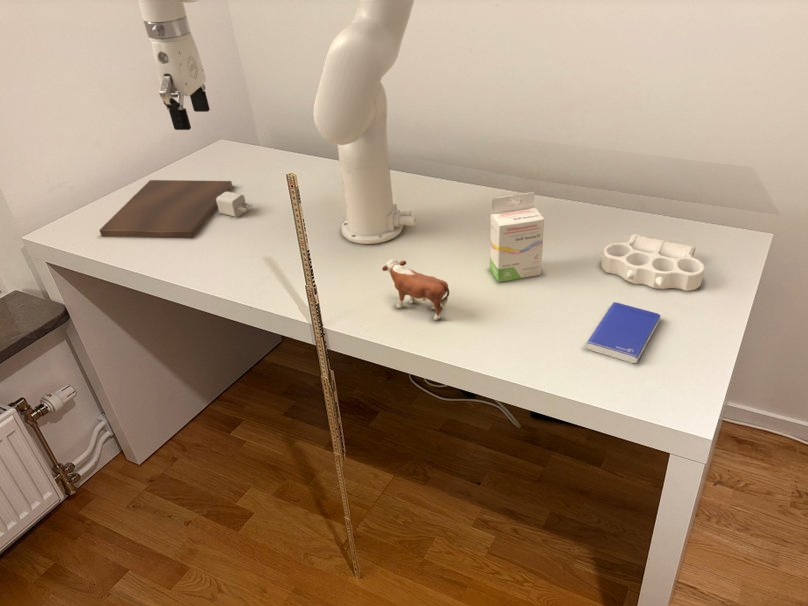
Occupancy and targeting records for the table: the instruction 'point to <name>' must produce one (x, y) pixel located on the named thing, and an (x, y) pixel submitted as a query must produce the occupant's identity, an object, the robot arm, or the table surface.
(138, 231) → the walnut board
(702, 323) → the table surface
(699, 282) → the white brass knuckles
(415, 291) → the bull figurine
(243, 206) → the usb wall charger
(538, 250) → the ink box
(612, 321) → the hard drive
